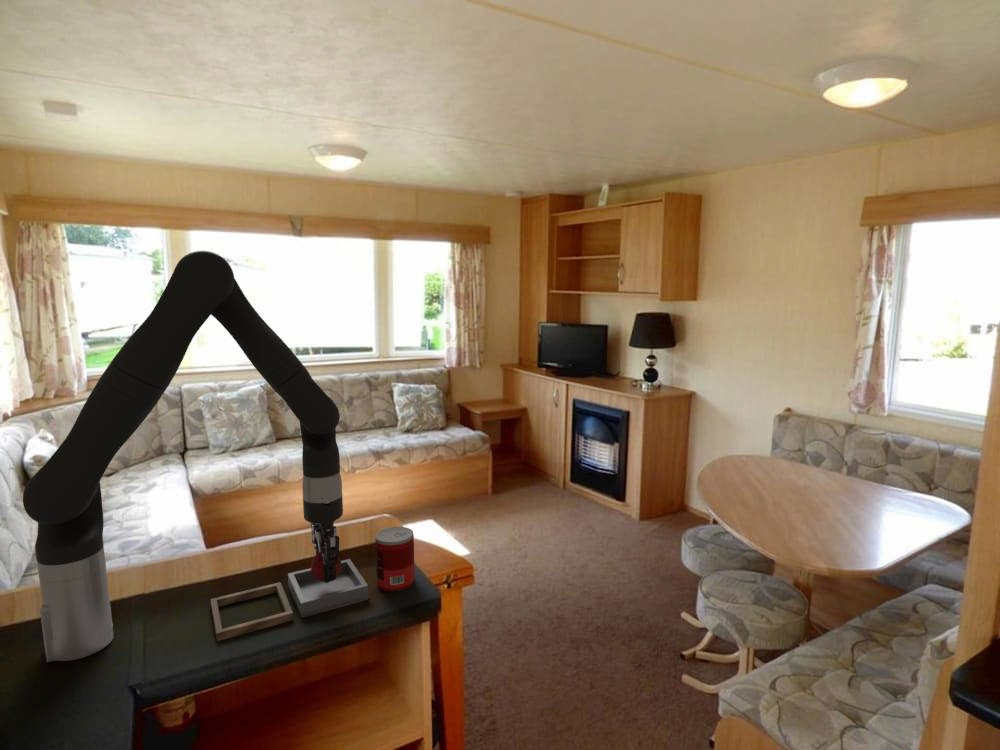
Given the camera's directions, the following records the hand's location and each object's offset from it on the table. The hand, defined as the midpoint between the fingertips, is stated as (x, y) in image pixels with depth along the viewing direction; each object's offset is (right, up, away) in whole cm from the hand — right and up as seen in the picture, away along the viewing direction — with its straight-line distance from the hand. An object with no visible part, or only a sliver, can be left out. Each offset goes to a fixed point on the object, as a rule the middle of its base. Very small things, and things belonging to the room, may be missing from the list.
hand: (326, 573), depth 119 cm
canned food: (+13, -4, +5) cm, 15 cm away
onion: (0, -2, 0) cm, 2 cm away
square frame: (-12, -5, -6) cm, 15 cm away
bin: (0, -4, +1) cm, 4 cm away
